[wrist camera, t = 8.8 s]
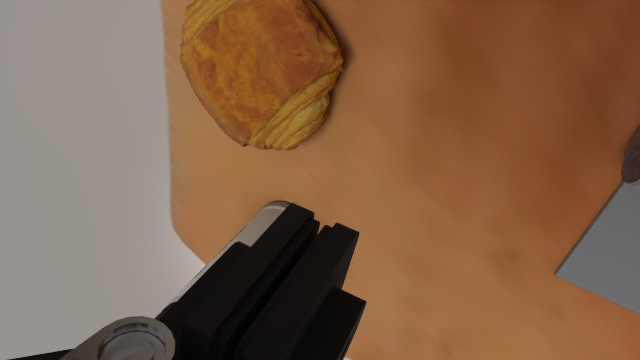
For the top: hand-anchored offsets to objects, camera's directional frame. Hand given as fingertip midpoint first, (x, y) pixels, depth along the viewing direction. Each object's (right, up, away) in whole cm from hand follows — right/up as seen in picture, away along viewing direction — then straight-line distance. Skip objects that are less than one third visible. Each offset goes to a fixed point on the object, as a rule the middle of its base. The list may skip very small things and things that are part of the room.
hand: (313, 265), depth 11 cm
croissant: (-4, +13, +34) cm, 36 cm away
